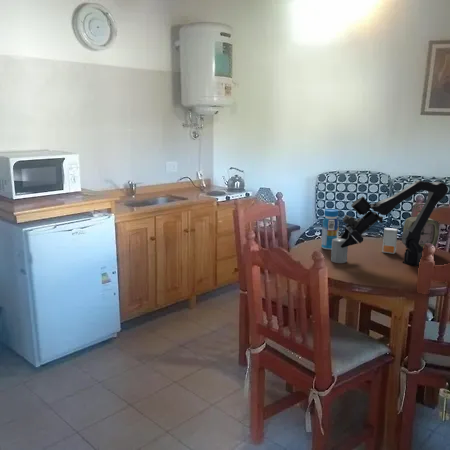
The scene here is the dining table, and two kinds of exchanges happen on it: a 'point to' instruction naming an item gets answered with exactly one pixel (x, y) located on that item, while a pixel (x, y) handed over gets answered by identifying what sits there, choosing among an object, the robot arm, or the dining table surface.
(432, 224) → the tabletop clock
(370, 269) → the dining table surface
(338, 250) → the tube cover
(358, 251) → the dining table surface
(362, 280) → the dining table surface
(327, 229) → the beverage bottle
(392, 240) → the skincare box
